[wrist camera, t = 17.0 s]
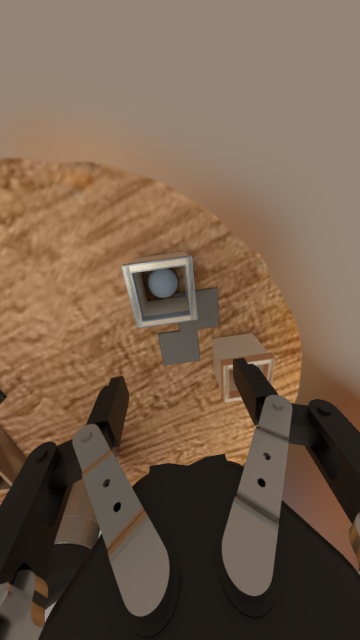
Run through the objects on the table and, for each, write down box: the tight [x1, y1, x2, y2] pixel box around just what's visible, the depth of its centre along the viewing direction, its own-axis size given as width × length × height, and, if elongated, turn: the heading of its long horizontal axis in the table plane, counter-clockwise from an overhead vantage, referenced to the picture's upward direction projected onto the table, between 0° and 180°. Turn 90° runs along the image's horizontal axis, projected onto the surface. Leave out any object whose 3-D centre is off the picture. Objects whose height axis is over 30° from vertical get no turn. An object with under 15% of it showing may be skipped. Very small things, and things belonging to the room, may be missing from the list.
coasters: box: [158, 288, 219, 365], centre depth 34 cm, size 11×14×1 cm
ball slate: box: [148, 268, 178, 298], centre depth 28 cm, size 4×4×4 cm
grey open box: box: [212, 333, 275, 403], centre depth 33 cm, size 8×8×8 cm
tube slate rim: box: [122, 251, 198, 328], centre depth 26 cm, size 8×8×8 cm
